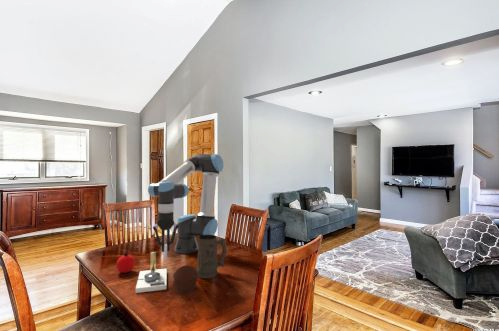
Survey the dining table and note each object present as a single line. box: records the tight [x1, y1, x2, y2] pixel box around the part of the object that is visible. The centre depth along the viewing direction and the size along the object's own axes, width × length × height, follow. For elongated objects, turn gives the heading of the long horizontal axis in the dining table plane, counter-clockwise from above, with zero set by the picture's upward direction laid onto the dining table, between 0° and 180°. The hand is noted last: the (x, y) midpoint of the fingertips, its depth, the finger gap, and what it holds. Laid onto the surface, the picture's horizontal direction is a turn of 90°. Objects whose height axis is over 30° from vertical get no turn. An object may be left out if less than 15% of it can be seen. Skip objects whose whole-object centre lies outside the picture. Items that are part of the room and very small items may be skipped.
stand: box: [135, 268, 168, 294], centre depth 130 cm, size 13×20×4 cm, turn 17°
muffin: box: [172, 265, 199, 295], centre depth 123 cm, size 12×11×10 cm
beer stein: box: [196, 234, 228, 279], centre depth 140 cm, size 15×11×20 cm
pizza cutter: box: [144, 251, 160, 282], centre depth 131 cm, size 13×7×10 cm, turn 17°
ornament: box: [116, 252, 136, 274], centre depth 141 cm, size 9×9×10 cm
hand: (165, 257), depth 137 cm, fingers closed
